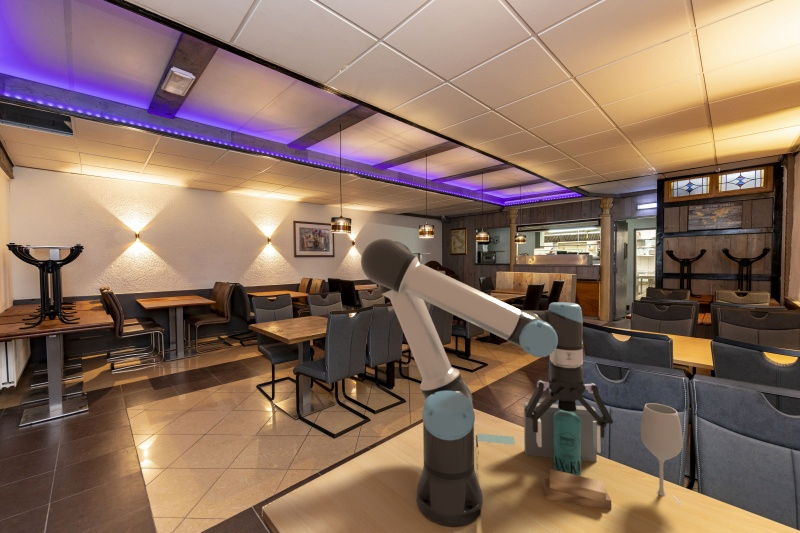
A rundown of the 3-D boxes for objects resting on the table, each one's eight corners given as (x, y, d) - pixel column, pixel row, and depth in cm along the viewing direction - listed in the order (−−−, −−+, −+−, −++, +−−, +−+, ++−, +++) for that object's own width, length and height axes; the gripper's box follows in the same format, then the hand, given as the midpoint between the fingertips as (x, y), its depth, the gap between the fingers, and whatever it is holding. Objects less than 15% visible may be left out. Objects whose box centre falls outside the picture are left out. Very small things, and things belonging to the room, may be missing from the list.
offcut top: (549, 487, 75) (549, 479, 75) (550, 477, 79) (550, 468, 79) (606, 502, 70) (606, 493, 70) (603, 490, 74) (603, 481, 74)
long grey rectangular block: (525, 459, 92) (525, 405, 92) (524, 454, 94) (523, 401, 94) (596, 467, 88) (596, 410, 88) (593, 461, 90) (593, 406, 90)
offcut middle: (546, 499, 75) (546, 490, 75) (543, 486, 79) (543, 478, 79) (611, 509, 71) (611, 500, 71) (604, 495, 75) (604, 487, 75)
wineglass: (691, 513, 71) (690, 417, 71) (651, 509, 73) (651, 414, 73) (670, 490, 79) (669, 403, 79) (634, 486, 80) (634, 400, 80)
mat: (478, 454, 95) (478, 452, 95) (477, 434, 105) (477, 433, 105) (518, 458, 92) (518, 456, 92) (513, 438, 103) (513, 436, 103)
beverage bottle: (549, 469, 87) (548, 394, 87) (576, 471, 86) (575, 395, 86) (557, 485, 81) (557, 404, 81) (586, 487, 80) (585, 405, 80)
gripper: (516, 365, 82) (517, 450, 82) (628, 370, 77) (629, 460, 77) (512, 357, 90) (514, 434, 90) (614, 361, 85) (615, 443, 85)
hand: (567, 447), depth 84 cm, fingers open, 13 cm apart
